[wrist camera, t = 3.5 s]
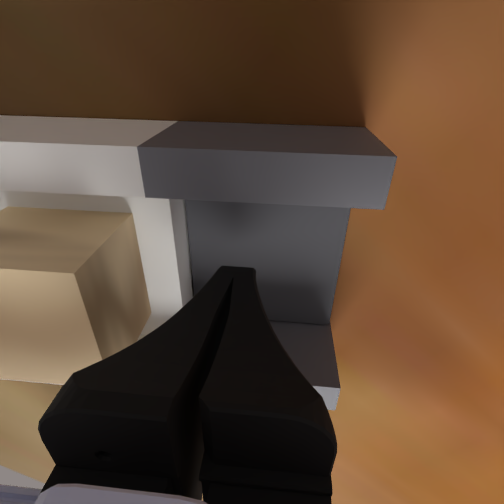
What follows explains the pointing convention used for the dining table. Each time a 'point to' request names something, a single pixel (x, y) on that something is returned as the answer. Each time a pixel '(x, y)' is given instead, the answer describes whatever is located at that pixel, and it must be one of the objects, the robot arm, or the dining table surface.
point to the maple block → (67, 291)
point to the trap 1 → (272, 252)
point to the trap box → (194, 192)
